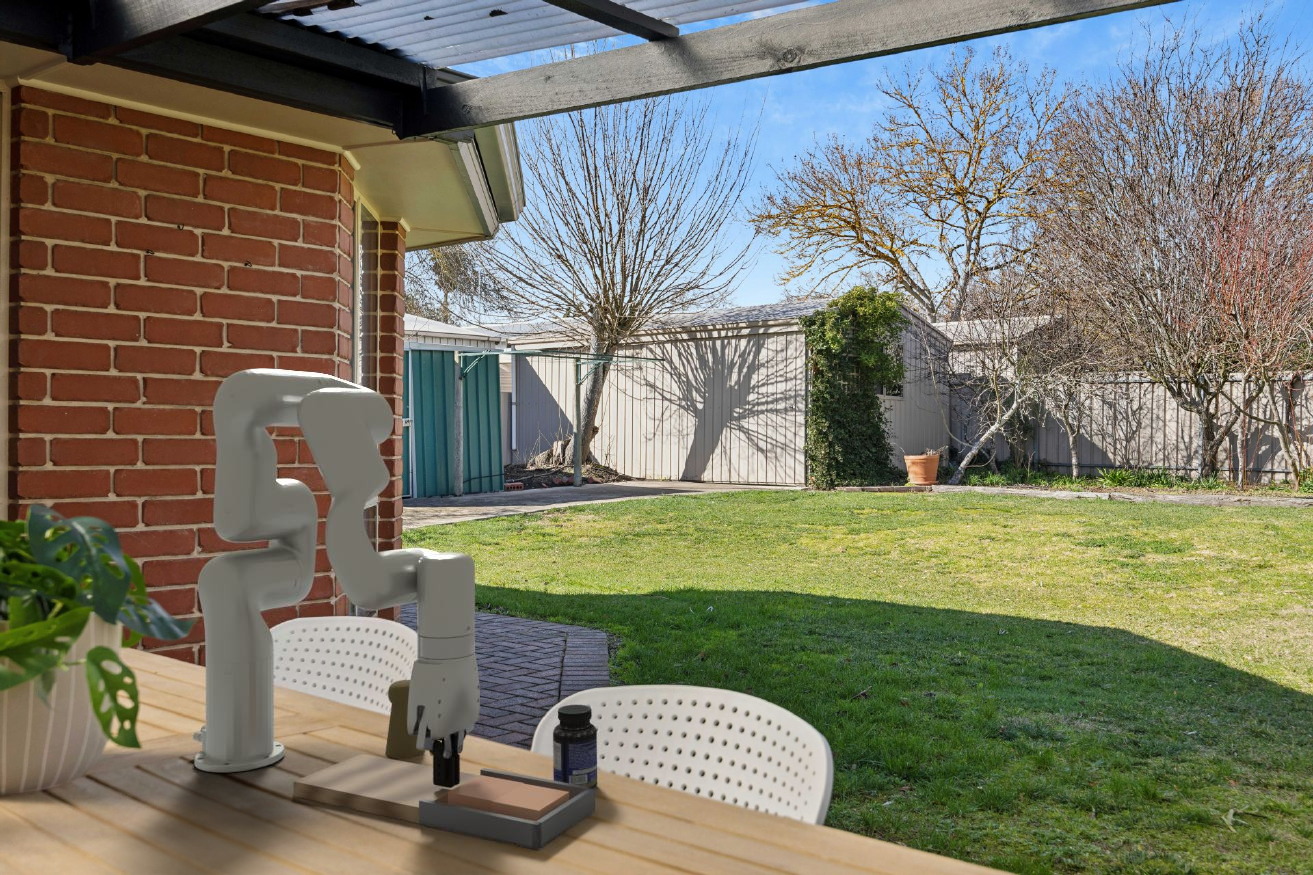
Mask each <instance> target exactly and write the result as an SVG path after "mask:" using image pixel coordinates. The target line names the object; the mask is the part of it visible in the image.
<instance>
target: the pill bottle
mask: <svg viewBox="0 0 1313 875" xmlns="http://www.w3.org/2000/svg"><path fill="white" fill-rule="evenodd" d="M592 711H593V710H592V707H591V706H589V705H587V704H586V705H585V704H569V705H568V704H567V705H563V706H561V707H559V708H558V709H557V719H558V720H559V724H557V725H556V726H554V729H553V732H552V761H553V764H552V768H553V769H552V770H553V781H559V782H564V783H570V784H576V785H581V786H587V787H592V788H595V789H596V788H597V787H598V740H597V739H598V736H597V734H598V732H597V728H596V726H595V725H594V724H593V723H591V719H592V717H593V714H592V713H593V712H592Z"/></svg>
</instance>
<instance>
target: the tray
mask: <svg viewBox="0 0 1313 875" xmlns="http://www.w3.org/2000/svg"><path fill="white" fill-rule="evenodd" d="M479 772H480V774H479V775H483V776H488V777H494V778H499V779H505V780H510V781H515V782H521V783H524V784H528V785H534V786H539V787H545V788H550V789H556V790H561V791H567V792H569V801H567V802H566V803H564V804H563V805H561V806H559V807H558V808H556V809H555V810H553V811H552V812H550V813H548V814H547V815H545V816H544V817H542V818H541V819H539V820H537V821H531V820H526V819H521V818H516V817H511V816H506V815H501V814H497V813H492V812H487V811H482V810H477V809H472V808H467V807H462V806H457V805H452V804H447V803H442V802H437V801H432V800H428V799H421V800H419V823H418V824H419V826H425V827H430V828H433V829H438V830H442V831H447V832H452V833H456V834H461V835H466V836H469V837H474V838H480V839H482V840H488V841H493V842H496V843H497V842H498V843H501V842H503V844H507V845H511V844H513V845H512V846H515V845H516V847H520V846H522V847H521V848H525V849H529V850H533V851H534V850H535V851H540V850H541V849H542V848H544V847H545V846H547V845H548V844H549V843H551V842H552V841H554V840H555V839H557V838H558V837H560V836H561V835H563V834H564V833H566V832H567V831H568V830H570V829H572V827H574V826H576V825H578V824H579V823H580V822H581V821H583V820H584V819H586V818H587V817H589V816H590V815H592V814H593V813H595V812H596V788H592V787H587V786H581V785H576V784H570V783H564V782H559V781H554V779H548V778H541V777H537V776H531V775H525V774H518V773H513V772H507V771H504V770H498V769H491V768H485V767H483V768H480V770H479ZM562 833H563V834H562ZM559 835H560V836H559ZM546 844H547V845H546ZM543 846H544V847H543ZM540 848H541V849H540Z"/></svg>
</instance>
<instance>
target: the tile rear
mask: <svg viewBox="0 0 1313 875" xmlns="http://www.w3.org/2000/svg"><path fill="white" fill-rule="evenodd" d="M479 775H480V774H479ZM522 784H524V783H521V782H515V781H510V780H505V779H499V778H494V777H488V776H483V775H480V776H478V777H476V778H474V779H472V780H470V781H468V782H467V783H465V784H463V785H461V786H459V787H457V788H455V789H453V790H451V791H449V792H448V804H452V805H457V806H462V807H467V808H472V809H477V810H482V811H487V812H492V801H493V800H495V799H497V798H499V797H501V796H502V795H504V794H506V793H508V792H509V791H511V790H513V789H515V788H517V787H518V786H520V785H522Z"/></svg>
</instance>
